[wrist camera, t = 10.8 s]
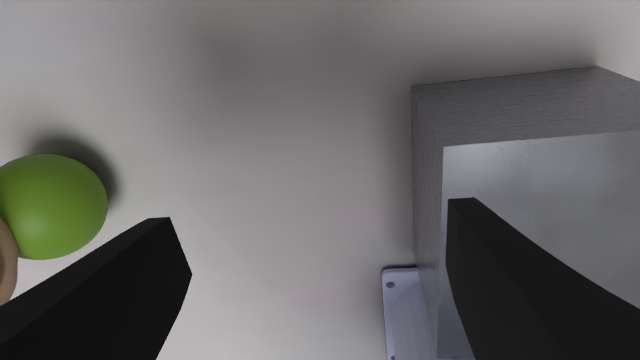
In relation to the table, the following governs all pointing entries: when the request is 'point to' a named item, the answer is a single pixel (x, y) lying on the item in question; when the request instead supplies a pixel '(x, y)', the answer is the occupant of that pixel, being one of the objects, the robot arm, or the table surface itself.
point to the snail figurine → (46, 211)
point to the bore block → (529, 176)
